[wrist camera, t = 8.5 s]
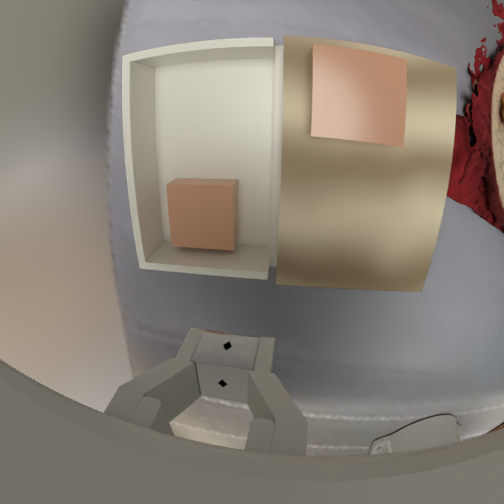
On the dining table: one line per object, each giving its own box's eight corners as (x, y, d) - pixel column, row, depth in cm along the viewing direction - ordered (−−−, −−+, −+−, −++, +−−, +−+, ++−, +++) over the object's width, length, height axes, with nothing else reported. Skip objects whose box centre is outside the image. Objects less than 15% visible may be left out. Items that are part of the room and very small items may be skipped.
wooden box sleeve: (401, 260, 23) (421, 291, 19) (279, 252, 24) (275, 284, 20) (425, 75, 16) (456, 68, 12) (285, 53, 17) (283, 35, 13)
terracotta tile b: (391, 144, 15) (403, 147, 13) (308, 134, 15) (311, 136, 13) (394, 64, 12) (406, 59, 11) (310, 52, 13) (312, 43, 11)
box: (279, 252, 24) (275, 280, 20) (161, 244, 25) (139, 268, 21) (285, 53, 17) (283, 38, 13) (151, 63, 18) (122, 55, 14)
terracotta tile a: (171, 246, 22) (180, 236, 24) (233, 250, 22) (238, 239, 24) (166, 184, 20) (176, 178, 22) (233, 185, 20) (238, 179, 21)
